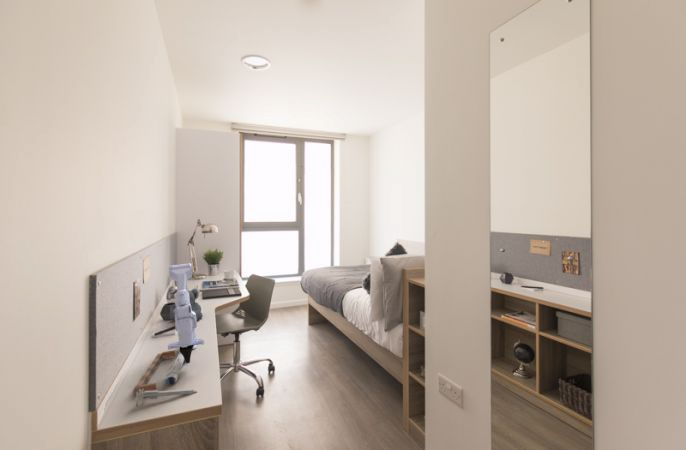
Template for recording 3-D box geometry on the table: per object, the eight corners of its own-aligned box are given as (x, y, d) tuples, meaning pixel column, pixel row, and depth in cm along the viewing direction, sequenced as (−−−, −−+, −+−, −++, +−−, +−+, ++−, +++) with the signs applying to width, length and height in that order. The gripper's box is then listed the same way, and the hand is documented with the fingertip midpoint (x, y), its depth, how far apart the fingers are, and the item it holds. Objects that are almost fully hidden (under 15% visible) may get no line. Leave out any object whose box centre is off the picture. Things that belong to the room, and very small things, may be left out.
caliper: (136, 407, 121) (134, 391, 121) (136, 406, 122) (134, 389, 122) (197, 392, 129) (195, 377, 128) (197, 391, 130) (196, 375, 129)
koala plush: (200, 312, 227) (197, 284, 226) (208, 319, 213) (205, 288, 212) (172, 319, 217) (169, 289, 215) (179, 326, 202) (175, 295, 201)
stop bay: (158, 358, 160) (157, 352, 160) (175, 356, 162) (175, 350, 161) (134, 395, 129) (133, 388, 129) (155, 391, 131) (154, 384, 130)
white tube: (162, 378, 134) (178, 344, 158) (164, 392, 135) (180, 357, 159) (176, 375, 135) (190, 342, 159) (179, 390, 136) (191, 355, 160)
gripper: (164, 338, 141) (167, 369, 142) (201, 333, 145) (204, 363, 146) (169, 332, 148) (172, 361, 149) (204, 327, 152) (206, 356, 153)
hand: (188, 362), depth 148 cm, fingers closed
